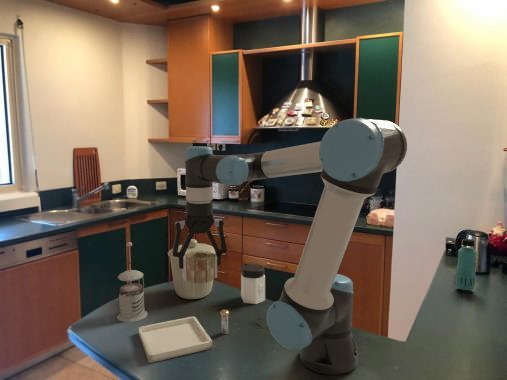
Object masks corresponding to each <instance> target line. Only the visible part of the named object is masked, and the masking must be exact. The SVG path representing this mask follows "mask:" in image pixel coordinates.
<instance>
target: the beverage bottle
mask: <svg viewBox="0 0 507 380" xmlns="http://www.w3.org/2000/svg"><path fill="white" fill-rule="evenodd" d="M461 245H462V247H461V248H459V249H458V250H457V252H458V254H457V264H456V265H457V267H456V278H455V281H456V282H455V286H456V288H457V289H460V290H464V291H472V290H474V289H475V286H476V285H475V284H476V283H475V282H476V271H477V270H476V269H477V263H478V262H477V260H478V259H477V254H478V252H477V251H476V250H475V249H474V248H473V247H474V246H475V240H474V239H471V238H462V242H461Z"/></svg>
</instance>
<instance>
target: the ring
mask: <svg viewBox="0 0 507 380" xmlns="http://www.w3.org/2000/svg"><path fill="white" fill-rule="evenodd" d="M186 279H187V280H186V281H188V282H191V283H196V284H197V283H206V282H207V283H208V282H210V281H212V280H213V281H214V280H215V278H214V254H213V253H212V252H208V251H195V252H190V253H187V254H186Z"/></svg>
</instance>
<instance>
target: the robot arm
mask: <svg viewBox="0 0 507 380" xmlns="http://www.w3.org/2000/svg"><path fill="white" fill-rule="evenodd" d="M407 151H408V141H407V137H406V135H405V133H404V131H403V130H402V129H401V128H400V127H399V126H398V125H397V124H395V123H394V122H392V121H389V120H384V119H372V118H370V119H369V118H362V117H354V118H349V119H344V120H341V121H338V122H337V123H335V124H333V125H332V126H330V127H329V129H328V130H327V131H326V132H325V133H324V135H323V137H322V139H321V141H316V142H311V143H306V144H300V145H294V146H290V147H284V148H278V149H272V150H268V151H267V150H266V151H260V152H256V153H255V152H254V153H247V154H246V153H245V154H228V155H225V154H222V155H221V154H214V153H213V148H212V147H210V146H206V145H205V146H201V145H199V146H195V145H194V146H188V147H187V148H186V149H185V156H184V157H185V161H184V163H185V166H184V167H185V168H184V169H185V200H186V203H185V217H184V220H181V221H179V220H175V222H174V224H175V235H174V240H173V245H172V249H173V251H172V254H173V256H174V257H178V258H179V268H180V269H183V279H184V281H186V280H187V279H186V257H185V256H184V255H185V253H186V250H187V248H188V246H189V244H190V241H191V239H193V237H194V235H199V234H206V236H207V238H208V240H209V242H210V245H211V246H212V247H213V248H214V250H215V252H216V254H214V279H216V278H218V266H219V267H221V262H222V261H221V259H222V257H221V256H222V255H223V254H226V253H227V252H228V248H227V244H226V238H225V232H224V224H225V223H224V220H223V219H222V218H218V219H217V218H216V219H215V218H214V215H213V214H214V213H213V212H214V211H213V210H214V209H213V208H214V206H213V205H214V204H213V200H214V199H213V198H214V197H213V195H214V194H213V191H214V190H213V185H214V184H213V183H215V184H216V183H217V184H221V185H226V186H241V185H242V184H243V183H244V182H248V181H256V180H266V179H271V178H280V177H288V176H295V175H303V174H305V175H306V174H312V173H319V172H320V178H321V179H322V182H323V184H324V187H323V191H322V193H321V196H320V199H319V202H318V205H317V207H316V211H315V214H314V216H313V219H312V220H313V221H312V223H311V226H310V230H309V232H308V236H307V238H306V241H305V244H304V246H303V250H302V253H301V256H300V259H299V262H298V265H297V266H296V267H297V268H296V271H295V273H294V277H290V278H289V279H287V280H286V281H285V283H284V286H283V289H282V293H281V294H280V297H279V299H278V300H276V301H273V303H272V304H271V305H270V306H269V307H268V309H267V311H266V315H265V316H266V324H267V327H268V329H269V332H270V334H271V335H272V338H274V340H275V341H276V342H277V343H278V345H281V346H282V347H283V348H285V349H287V350H289V351H293V352H294V351H299V358H300V362H301V363H302V364H303V366H305V367H306V368H307V369H310V371H313V372H316V373H318V374H322V375H330V376H337V375H345V374H348V373H350V372H352V371H353V370H355V369H356V368H357V366H358V362H359V354H358V353H359V352H358V350H357V346H356V343H355V339H354V336H353V333H352V332H353V331H352V330H353V305H354V304H353V303H354V294H355V293H354V292H355V291H354V282H353V281H352V279H351V278H349V277H347V276H346V275H343V274H339V273H338V271H339V268H340V266H341V263H342V260H343V258H344V255H345V253H346V250H347V247H348V245H349V243H350V240H351V236H352V235H353V234H352V233H353V231H354V228H355V226H356V223H357V221H358V218H359V216H360V212H361V210H362V207H363V205H364V202H365V200H366V199H367V198H369V197H372V196H374V195H376V193H377V189H378V187H379V185H380V182H381V180H382V177H383V175H384V174H386V173H390V172H391V171H394V170H395V169H396V168H398V167H399V166H400V165H401V164H402V162H403V161H404V159H405V157H406V155H407ZM214 224H215V225H214ZM213 225H214V226H215V227H216V228H217V233H218V238H219V243H220V248H219V246H218V244H217V242H216V239H215V238H214V236H213V233H212V231H211V228H212V227H213ZM185 226H186V228H187V229H188V230H187V234H186V236H185V237H184V240H183V243H182V244H181V245H182V247H181V249H180V252H178V247H179V245H180V240H181V235H182V230H183V229H184V227H185Z"/></svg>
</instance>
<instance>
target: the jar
mask: <svg viewBox="0 0 507 380" xmlns="http://www.w3.org/2000/svg"><path fill="white" fill-rule="evenodd" d="M240 288H241V289H240V297H241V300H242V301H243V303H244V304H252V305H258V304H259V303H263V302H265V301H266V275H265V266H263V265H261V264H259V263H258V264H255V263H249V264H245V265H243V266H242V267H241V273H240Z"/></svg>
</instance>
